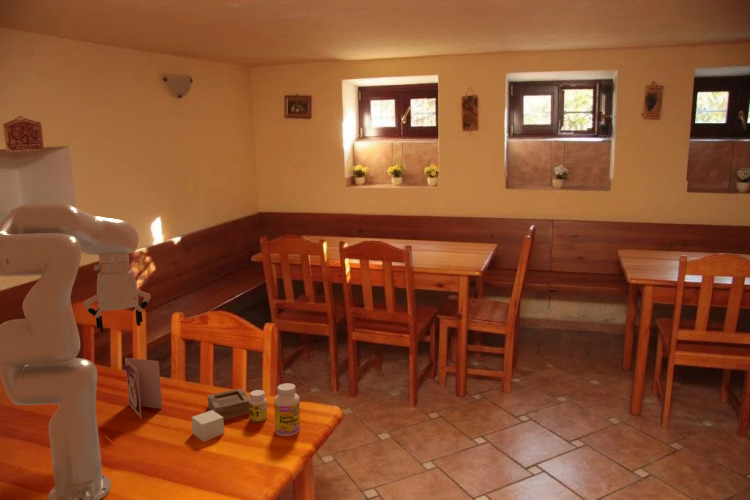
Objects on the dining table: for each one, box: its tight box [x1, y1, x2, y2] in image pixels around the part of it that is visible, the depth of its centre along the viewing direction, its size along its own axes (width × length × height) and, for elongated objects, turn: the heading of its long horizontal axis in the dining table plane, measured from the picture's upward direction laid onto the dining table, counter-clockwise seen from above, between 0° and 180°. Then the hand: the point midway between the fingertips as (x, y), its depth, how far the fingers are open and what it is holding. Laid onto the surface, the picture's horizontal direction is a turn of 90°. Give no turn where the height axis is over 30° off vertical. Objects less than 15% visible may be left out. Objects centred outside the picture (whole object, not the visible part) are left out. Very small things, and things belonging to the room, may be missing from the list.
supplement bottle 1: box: [249, 389, 268, 424], centre depth 164 cm, size 5×5×8 cm
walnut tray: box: [207, 388, 250, 421], centre depth 170 cm, size 10×10×5 cm
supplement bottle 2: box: [273, 382, 301, 437], centre depth 157 cm, size 7×7×13 cm
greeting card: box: [123, 357, 163, 419], centre depth 172 cm, size 11×7×15 cm, turn 39°
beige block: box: [191, 410, 225, 443], centre depth 157 cm, size 6×6×5 cm
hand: (120, 327), depth 166 cm, fingers open, 9 cm apart
